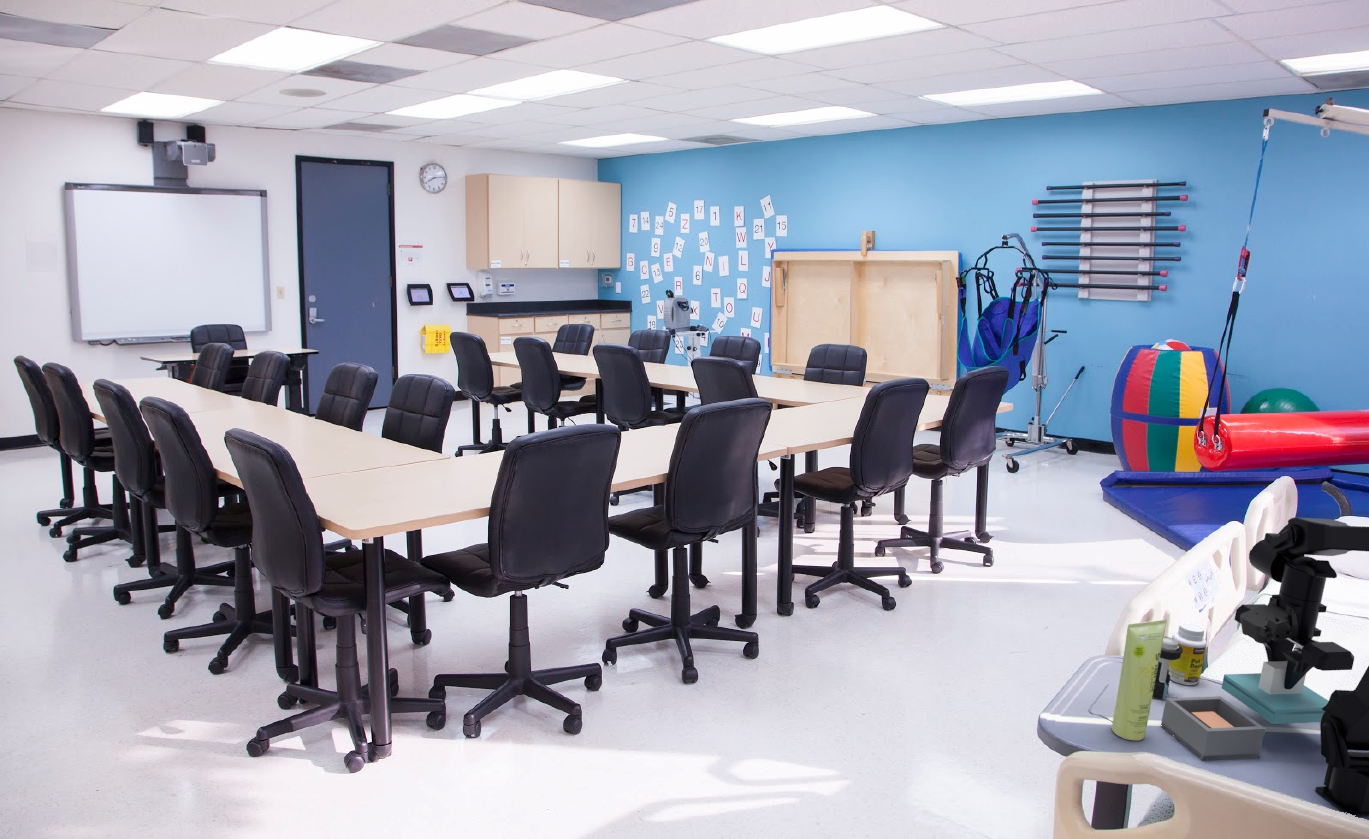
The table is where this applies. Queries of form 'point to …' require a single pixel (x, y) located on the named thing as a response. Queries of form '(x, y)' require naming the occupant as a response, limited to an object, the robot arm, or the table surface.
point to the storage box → (1212, 728)
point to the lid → (1275, 695)
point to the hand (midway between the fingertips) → (1281, 684)
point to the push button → (1165, 666)
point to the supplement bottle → (1188, 654)
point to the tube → (1138, 678)
